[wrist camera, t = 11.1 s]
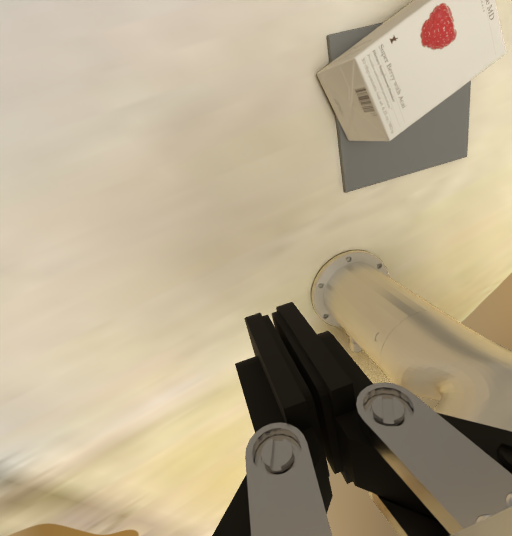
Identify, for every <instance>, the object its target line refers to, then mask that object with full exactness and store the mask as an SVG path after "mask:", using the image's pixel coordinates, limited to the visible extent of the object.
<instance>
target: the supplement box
mask: <svg viewBox="0 0 512 536" xmlns="http://www.w3.org/2000/svg"><path fill="white" fill-rule="evenodd" d="M506 53H507V51H506V47H505V42H504V38H503V33H502V29H501V24H500V20H499V16H498V11H497V7H496V2H495V0H413V1H412V2H411V3H409V4H408V5H407V6H405V7H404V8H403V9H401V10H400V11H399V12H397V13H396V14H395V15H394V16H392V17H391V18H390V19H388V20H387V21H386V22H384V23H383V24H382V25H380V26H379V27H378V28H376V29H375V30H374V31H372V32H371V33H370V34H368V35H367V36H366V37H364V38H363V39H362V40H360V41H359V42H358V43H356V44H355V45H354V46H352V47H351V48H350V49H348V50H347V51H346V52H344V53H343V54H342V55H340V56H339V57H338V58H336V59H335V60H334V61H332V62H331V63H330V64H328V65H327V66H326V67H324V68H323V69H322V70H320V71H319V72H318V73H317V76H318V79H319V81H320V83H321V85H322V87H323V89H324V91H325V93H326V95H327V97H328V99H329V101H330V103H331V106H332V108H333V110H334V112H335V114H336V116H337V118H338V120H339V122H340V124H341V126H342V128H343V130H344V132H345V134H346V137H347V139H348V140H349V141H391V140H392V139H393V138H395V137H396V136H397V135H398V134H400V133H401V132H402V131H404V130H405V129H406V128H408V127H409V126H410V125H412V124H413V123H414V122H416V121H417V120H418V119H420V118H421V117H422V116H424V115H425V114H426V113H428V112H429V111H430V110H432V109H433V108H434V107H436V106H437V105H438V104H440V103H441V102H442V101H444V100H445V99H446V98H448V97H449V96H450V95H452V94H453V93H454V92H456V91H457V90H458V89H460V88H461V87H462V86H464V85H465V84H466V83H468V82H469V81H470V80H472V79H473V78H475V77H476V76H477V75H479V74H480V73H481V72H483V71H484V70H485V69H487V68H488V67H489V66H491V65H492V64H493V63H495V62H496V61H497V60H499V59H500V58H501V57H503V56H504V55H505V54H506Z"/></svg>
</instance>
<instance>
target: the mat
mask: <svg viewBox="0 0 512 536" xmlns="http://www.w3.org/2000/svg"><path fill="white" fill-rule="evenodd" d="M382 24H383V23H380V24H375V25H371V26H366V27H362V28H357V29H353V30H348V31H344V32H339V33H335V34H331V35H328V36H327V45H328V54H329V63H331V62H332V61H334V60H335V59H336V58H338V57H339V56H340V55H342V54H343V53H344V52H346V51H347V50H348V49H350V48H351V47H352V46H354V45H355V44H356V43H358V42H359V41H360V40H362V39H363V38H364V37H366V36H367V35H368V34H370V33H371V32H372V31H374V30H375V29H376V28H378V27H379V26H380V25H382ZM470 85H471V80H470V81H469V82H468V83H466V84H465V85H464V86H462V87H461V88H460V89H458V90H457V91H456V92H454V93H453V94H452V95H450V96H449V97H448V98H446V99H445V100H444V101H442V102H441V103H440V104H438V105H437V106H436V107H434V108H433V109H432V110H430V111H429V112H428V113H426V114H425V115H424V116H422V117H421V118H420V119H418V120H417V121H416V122H414V123H413V124H412V125H410V126H409V127H408V128H406V129H405V130H404V131H402V132H401V133H400V134H398V135H397V136H396V137H395V138H393V139H392V140H391V141H349V140H348V139H347V137H346V134H345V132H344V130H343V128H342V126H341V124H340V122H339V120H338V118H337V116H336V114H335V117H336V126H337V135H338V144H339V153H340V162H341V171H342V180H343V189H344V192H349V191H353V190H356V189H360V188H363V187H366V186H370V185H373V184H376V183H380V182H383V181H387V180H390V179H393V178H397V177H400V176H403V175H407V174H410V173H414V172H417V171H420V170H424V169H427V168H430V167H434V166H437V165H441V164H444V163H447V162H451V161H454V160H457V159H461V158H464V157H467V148H468V127H469V106H470Z"/></svg>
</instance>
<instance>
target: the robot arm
mask: <svg viewBox="0 0 512 536" xmlns="http://www.w3.org/2000/svg"><path fill="white" fill-rule="evenodd" d="M311 298H312V304H313V308H314V310H315V311H316V313H317V314H318V316H319V317H320V318H321V319H322V320H323V321H324V322H326V323H328V324H330V325H332V326H336V327H343V328H344V329H345V331H346V333H347V335H348V336H349V343H350V350H351V351H353V352H360V351H362V349H363V350H364V351H365V353H366V354H367V355H368V356H369V357H370V358H371V359H372V360H373V361H374V362H375V364H376V365H377V366H378V367H379V368H380V369H381V370H382V371H383V372H384V373H385V374H386V376H387V377H388V378H389V379H390V380H391V381H392V382H393V383H394V384H393V383H375V384H373V383H372V382H371V381H370V380H369V379H368V377H367V376H366V375H365V374H364V373H363V371H362V370H361V369H360V368H359V366H358V365H357V364H356V363H355V362H354V360H353V359H352V358H351V357H350V356H349V354H348V353H347V352H346V351H345V349H344V348H343V347H342V346H341V345H340V343H339V342H338V341H337V340H336V339H335V337H334V336H333V335H332V334H331V333H330V332H329V331H326V332H323V333H320V334H318V335H317V334H316V333H315V331H314V330H313V329H312V327H311V326H310V325H309V323H308V322H307V321H306V319H305V318H304V317H303V315H302V314H301V313H300V311H299V310H298V309H297V307H296V306H295V305H294V303H293V302H290V303H287V304H284V305H281V306H278V307H277V308H276V309H277V312H274V313H272V317H273V321H274V325H275V327H274V325H273V323H272V322H271V320H270V318H269V316H268V315H265V316H262V315H261V313H258V314H255V315H252V316H249V317H246V318H245V322H246V325H247V329H248V332H249V336H250V339H251V343H252V346H253V350H254V353H255V357H253V358H250V359H247V360H244V361H242V362H239V363H236V364H235V365H236V369H237V372H238V376H239V379H240V383H241V386H242V389H243V393H244V396H245V400H246V403H247V406H248V410H249V413H250V417H251V420H252V424H253V427H254V430H255V434H254V435H253V436H252V438H251V439H250V440H249V443H248V445H247V448H246V457H245V459H246V472H247V474H246V476H245V478H244V480H243V481H242V483H241V485H240V487H239V489H238V490H237V492H236V494H235V496H234V498H233V499H232V501H231V503H230V505H229V507H228V508H227V510H226V512H225V514H224V516H223V517H222V519H221V521H220V523H219V525H218V526H217V528H216V530H215V532H214V534H213V535H212V536H332V533H331V529H330V526H329V522H328V518H327V515H326V514H327V511H328V507H329V505H330V502H331V499H332V491H331V486H330V482H329V470H328V465H327V461H326V458H327V460H328V462H329V464H330V466H331V468H332V470H333V472H334V473H335V474H336V473H339V472H341V473H342V475H343V477H344V479H345V481H346V482H347V484H348V483H350V482H354V484H355V486H357V487H360V488H362V489H365V490H367V491H368V493H369V495H370V496H371V498H372V500H373V502H374V503H375V504H376V506H377V507H378V508H379V510H380V511H381V513H382V514H383V515H384V516H385V518H386V519H387V521H388V522H389V523H390V525H391V526H392V527H393V529H394V530H395V531H396V533H397V534H398V535H399V536H512V351H511V350H509V349H507V348H505V347H503V346H501V345H498V344H497V343H494V342H493V341H491V340H489V339H487V338H485V337H483V336H482V335H480V334H478V333H476V332H475V331H473V330H471V329H470V328H468V327H466V326H465V325H463V324H461V323H460V322H458V321H457V320H455V319H453V318H452V317H450V316H449V315H447V314H446V313H444V312H442V311H441V310H439V309H438V308H436V307H434V306H433V305H431V304H430V303H428V302H427V301H425V300H424V299H422V298H420V297H419V296H417V295H416V294H414V293H413V292H411V291H410V290H408V289H406V288H405V287H403V286H402V285H400V284H399V283H397V282H396V281H394V280H392V279H391V278H389V276H388V271H387V269H386V266H385V265H384V263H383V262H382V261H381V260H380V259H379V258H378V257H376V256H375V255H373V254H371V253H369V252H366V251H360V250H355V251H348V252H344V253H342V254H340V255H338V256H336V257H334V258H333V259H331V260H330V261H329V262H328V263H327V264H326V265H324V266H323V268H322V269H321V270H320V272H319V273H318V275H317V277H316V279H315V281H314V284H313V287H312V293H311ZM417 396H418V397H422V398H427V399H432V400H440V402H439V403H438V404H437V405H436V407H435V408H434V409H431V408H430V407H429V406H427V405H426V404H425V403H424V402H422V401H421V400H420V399H419V398H418V397H417Z"/></svg>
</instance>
